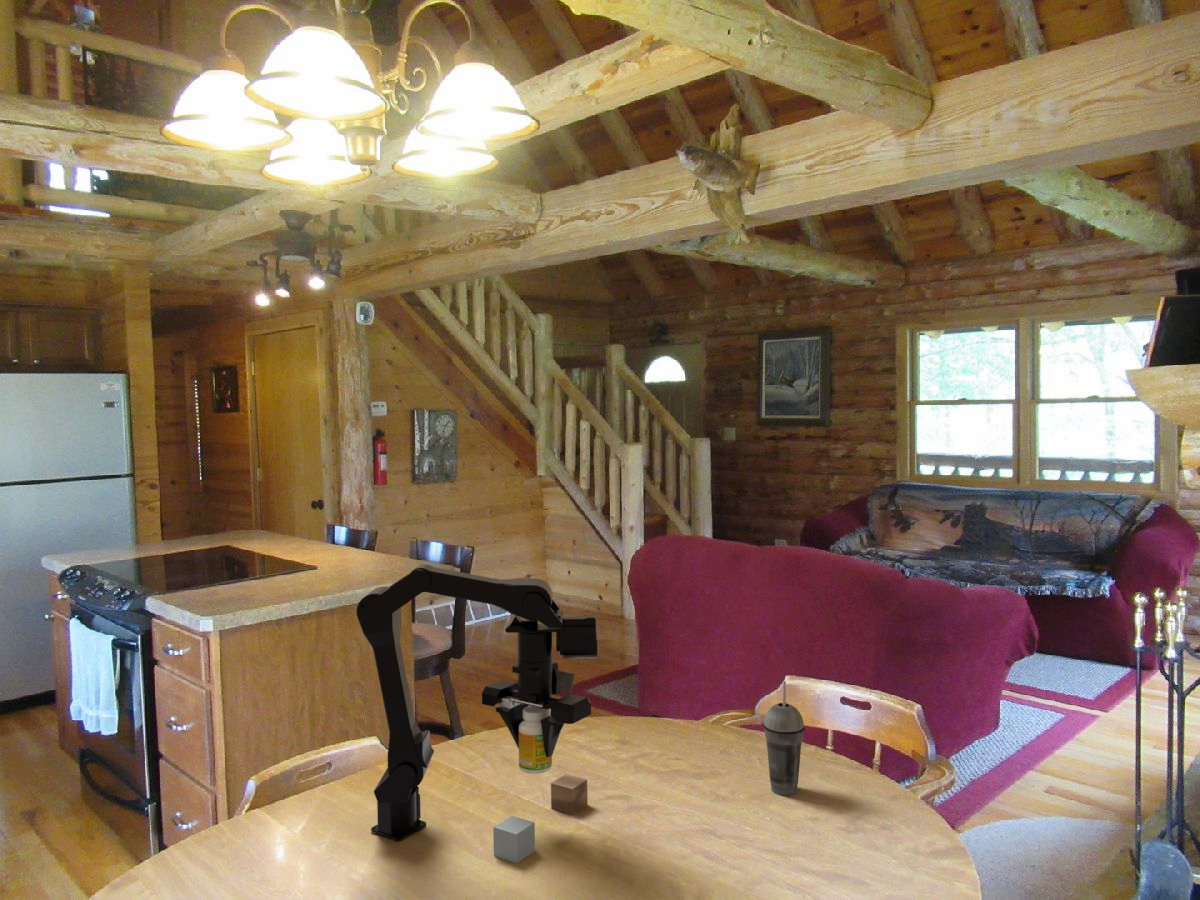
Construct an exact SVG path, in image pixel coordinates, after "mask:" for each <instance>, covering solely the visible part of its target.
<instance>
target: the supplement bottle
mask: <svg viewBox="0 0 1200 900" xmlns="http://www.w3.org/2000/svg"><path fill="white" fill-rule="evenodd" d="M546 717H548V710H547V709H543V708H539V707H534V706H530V705H529V706H528V707H525V708H524V709H523V719H524V721H522V722H521V723H520V725H519V749H518V768H519V770H520V771H521V772H523V773H525V774H531V775H537V774H538V775H539V774H545V773H546V772H548V771H550V770H551V768H552V766H553V764H552V763H553V755H552V756H550V757H546V753H545V749H544V741H543V734H542V727H541V720H542V719H544V718H546Z"/></svg>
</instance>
